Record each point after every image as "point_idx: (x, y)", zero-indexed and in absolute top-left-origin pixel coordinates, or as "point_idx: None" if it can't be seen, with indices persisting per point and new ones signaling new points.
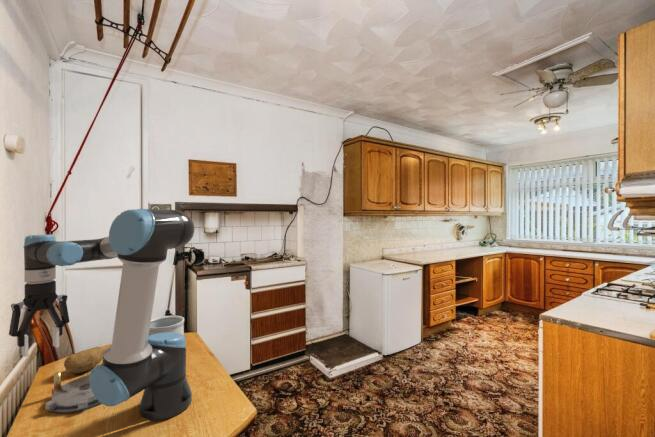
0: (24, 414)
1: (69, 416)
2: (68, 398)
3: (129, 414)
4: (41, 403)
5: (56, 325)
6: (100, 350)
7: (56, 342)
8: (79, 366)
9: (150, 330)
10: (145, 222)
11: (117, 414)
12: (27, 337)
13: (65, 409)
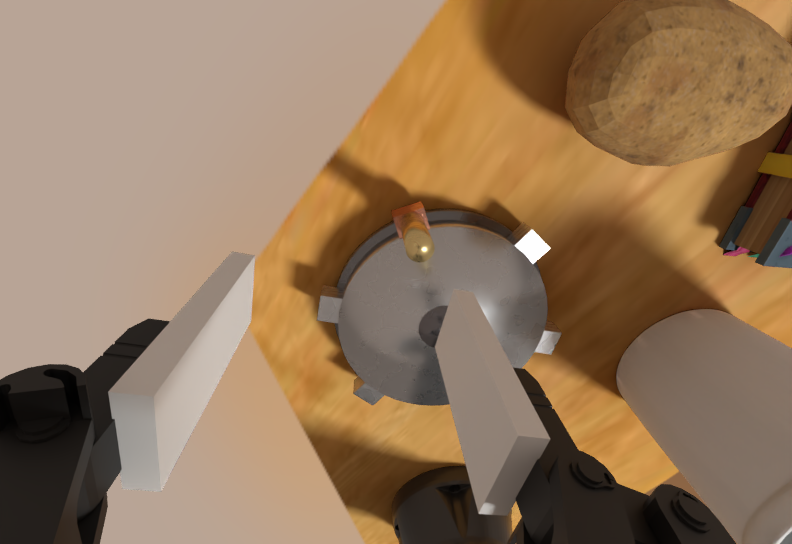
0: (290, 221)
1: (338, 362)
2: (365, 342)
3: (393, 472)
4: (355, 203)
5: (541, 483)
6: (736, 144)
7: (443, 373)
8: (586, 138)
9: (756, 529)
10: None
11: (384, 452)
12: (164, 469)
13: None
